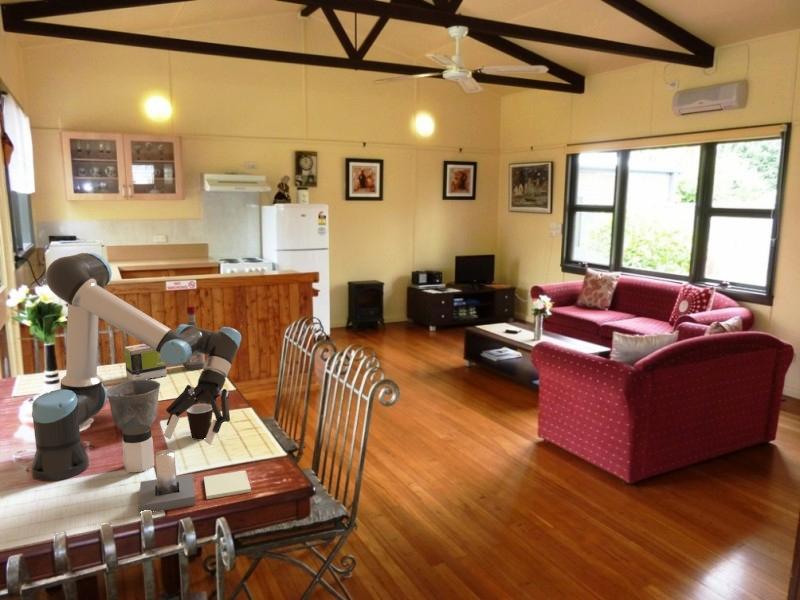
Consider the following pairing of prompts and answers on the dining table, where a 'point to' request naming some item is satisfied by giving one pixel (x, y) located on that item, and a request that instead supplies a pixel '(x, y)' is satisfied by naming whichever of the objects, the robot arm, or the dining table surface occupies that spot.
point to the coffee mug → (199, 420)
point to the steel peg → (166, 472)
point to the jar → (137, 448)
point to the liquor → (197, 359)
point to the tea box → (143, 362)
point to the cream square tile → (226, 484)
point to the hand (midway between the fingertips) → (187, 440)
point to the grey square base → (167, 495)
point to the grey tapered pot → (134, 403)
